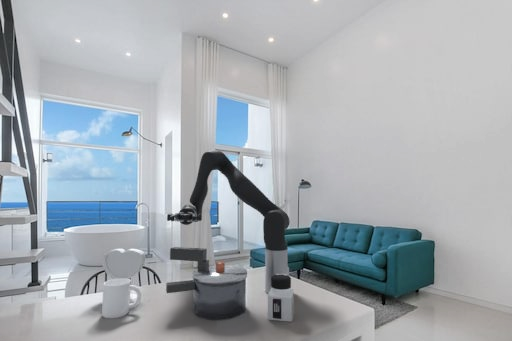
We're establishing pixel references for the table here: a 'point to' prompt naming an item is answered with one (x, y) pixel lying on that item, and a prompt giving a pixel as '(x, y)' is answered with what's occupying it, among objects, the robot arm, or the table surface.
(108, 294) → the mug
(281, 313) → the container
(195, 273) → the cooker lid
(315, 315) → the table surface
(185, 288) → the cooker pot
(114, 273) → the heart sculpture
